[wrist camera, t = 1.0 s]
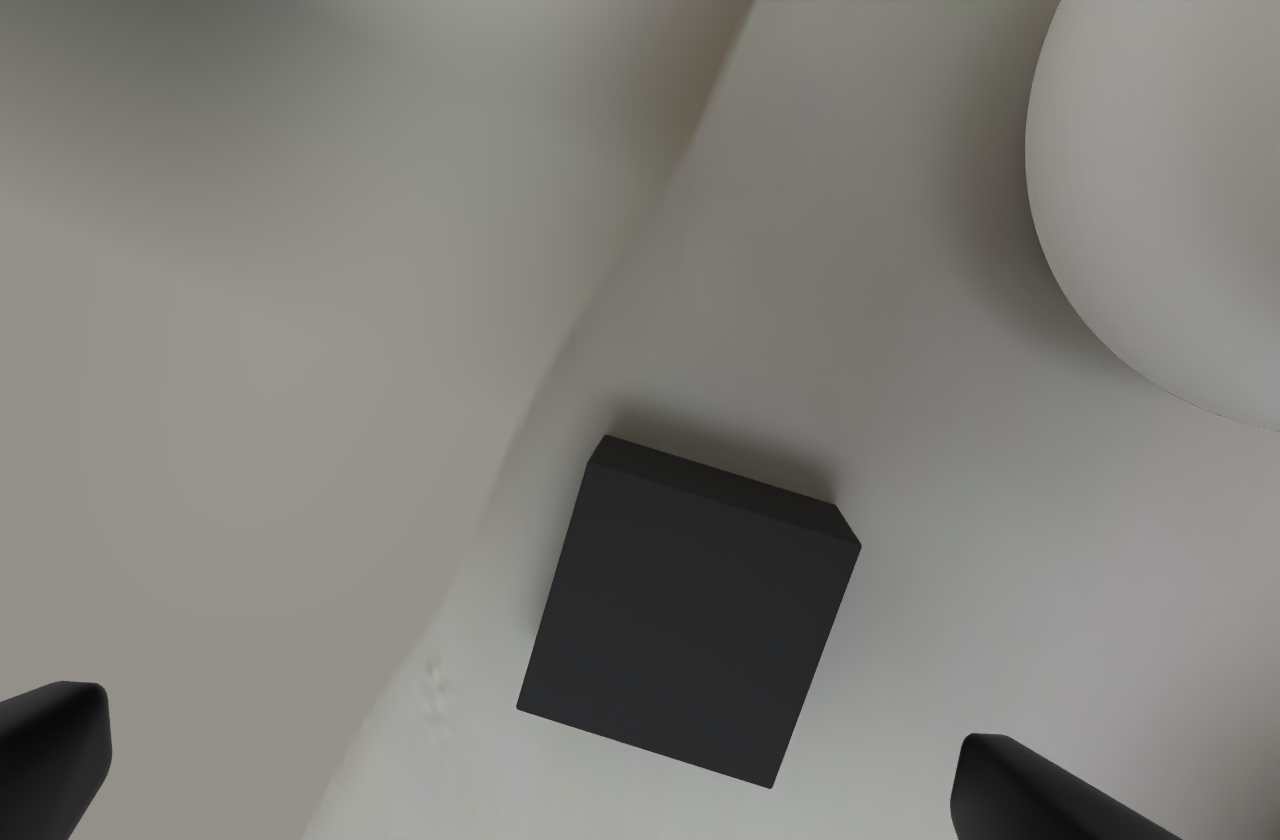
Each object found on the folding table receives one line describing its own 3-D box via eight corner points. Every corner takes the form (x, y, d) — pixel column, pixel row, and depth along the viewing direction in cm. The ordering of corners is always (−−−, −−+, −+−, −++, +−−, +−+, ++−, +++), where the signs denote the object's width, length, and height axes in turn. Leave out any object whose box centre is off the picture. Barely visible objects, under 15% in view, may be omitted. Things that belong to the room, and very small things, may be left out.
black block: (836, 504, 19) (863, 545, 16) (760, 716, 20) (772, 790, 17) (604, 433, 19) (587, 460, 16) (541, 648, 20) (514, 709, 17)
